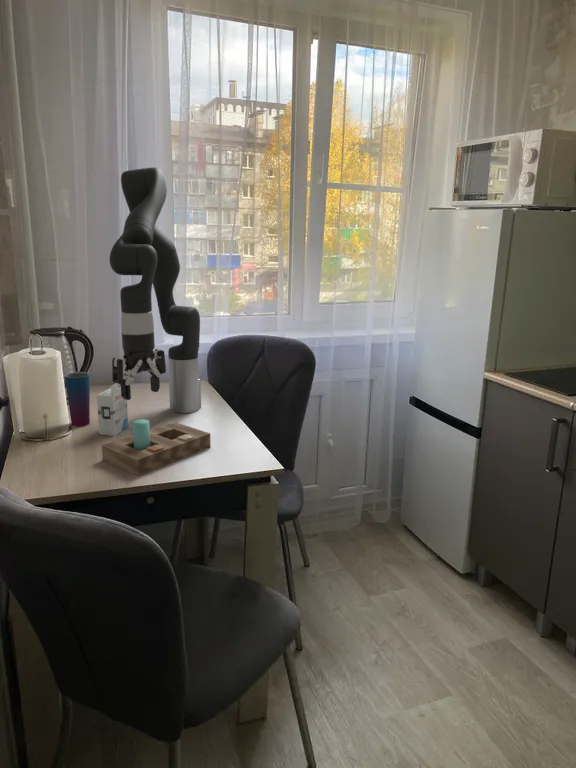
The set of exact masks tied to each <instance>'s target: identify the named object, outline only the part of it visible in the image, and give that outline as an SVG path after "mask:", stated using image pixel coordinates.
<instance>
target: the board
mask: <svg viewBox="0 0 576 768" xmlns="http://www.w3.org/2000/svg"><path fill="white" fill-rule="evenodd" d="M210 448H211V433H210V432H207V431H204V430H200V429H197V428H196V427H191V426H189V425H185V424H183V423H179V422H177V421H174V422H171V423H168V424H164V425H162V426H158V427H155V428H152V429H151V428H150V447H148V448H147V449H144V450H141V451H139V450H137V449H134V436H133V435H130V436H126V437H124V438H120V439H117V440H114V441H112V442H108V443H105V444H104V443H103V444H102V445H101V455H102V457H101V458H102V461H103V462H106V463H108V464H111V465H112V466H115V467H118V468H119V469H121V470H125V471H126V472H129V473H132V474H134V475H136V476H141V475H143V474H147V473H148V472H151V471H154V470H156V469H158V468H159V469H160V468H162V467H164V466H166V465H169V464H171V463H172V464H173V463H174V462H177V461H179V460H181V459H184V458H187V457H190V456H191V455H195V454H197V453H200V452H203V451H205V450H208V449H210Z"/></svg>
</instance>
